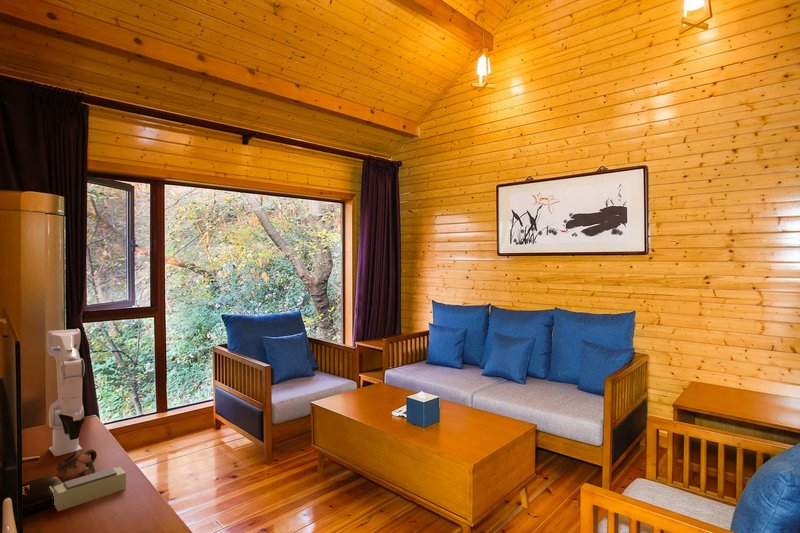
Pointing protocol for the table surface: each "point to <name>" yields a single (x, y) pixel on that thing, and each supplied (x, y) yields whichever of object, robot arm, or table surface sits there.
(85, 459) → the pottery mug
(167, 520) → the table surface
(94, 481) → the deck bay
